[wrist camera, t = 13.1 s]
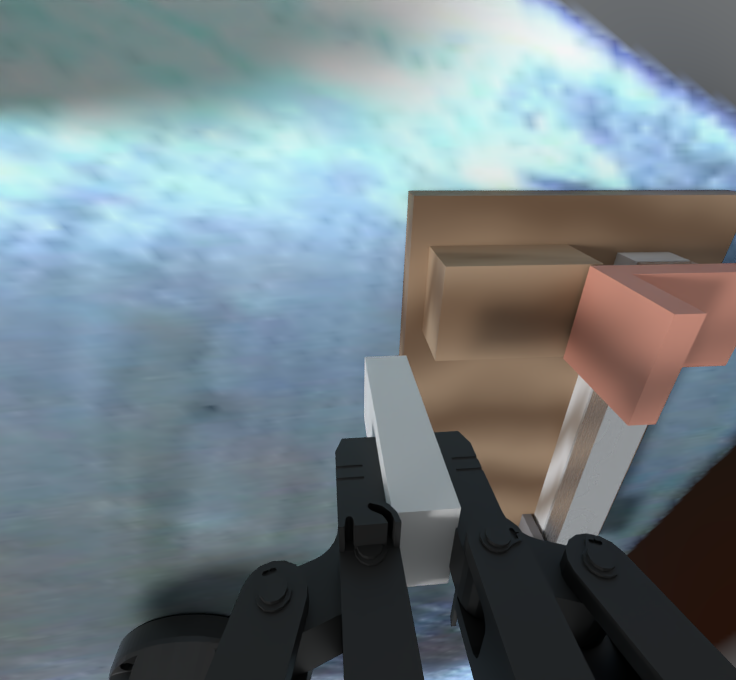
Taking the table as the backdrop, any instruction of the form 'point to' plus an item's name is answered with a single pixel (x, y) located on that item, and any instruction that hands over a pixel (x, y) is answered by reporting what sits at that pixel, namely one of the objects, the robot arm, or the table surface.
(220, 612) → the table surface
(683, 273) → the bracket
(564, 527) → the tong arm
